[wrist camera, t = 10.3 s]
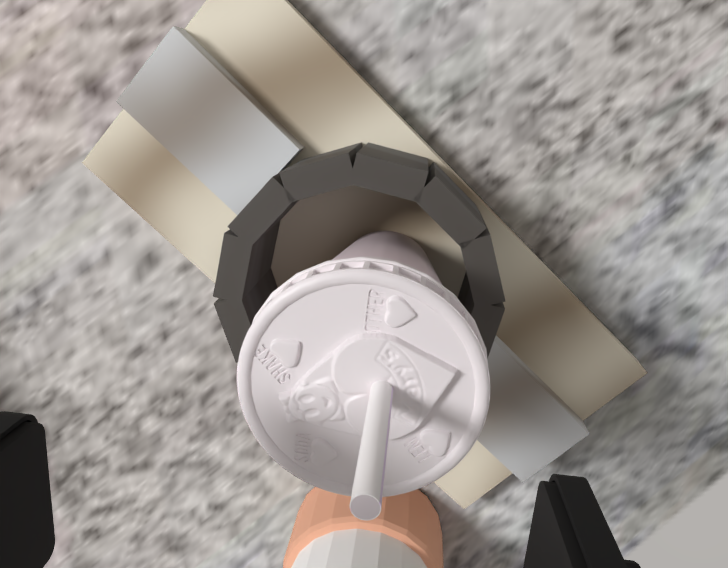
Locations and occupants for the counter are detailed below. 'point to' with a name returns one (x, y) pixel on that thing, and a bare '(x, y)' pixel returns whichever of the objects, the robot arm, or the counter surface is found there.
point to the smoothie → (365, 374)
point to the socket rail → (346, 215)
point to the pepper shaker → (365, 534)
